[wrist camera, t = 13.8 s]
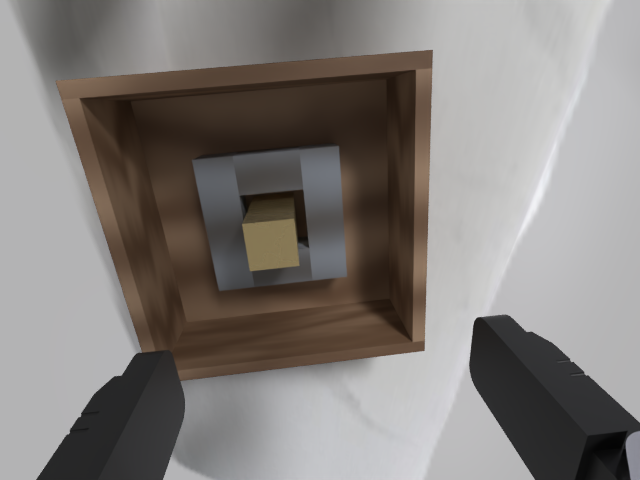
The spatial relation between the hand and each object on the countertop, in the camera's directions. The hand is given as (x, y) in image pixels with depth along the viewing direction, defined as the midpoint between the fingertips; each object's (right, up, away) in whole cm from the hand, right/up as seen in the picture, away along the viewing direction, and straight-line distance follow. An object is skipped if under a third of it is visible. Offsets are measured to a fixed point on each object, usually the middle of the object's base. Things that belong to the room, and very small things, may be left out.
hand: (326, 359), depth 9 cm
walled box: (-4, +6, +22) cm, 24 cm away
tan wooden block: (-4, +6, +22) cm, 23 cm away
